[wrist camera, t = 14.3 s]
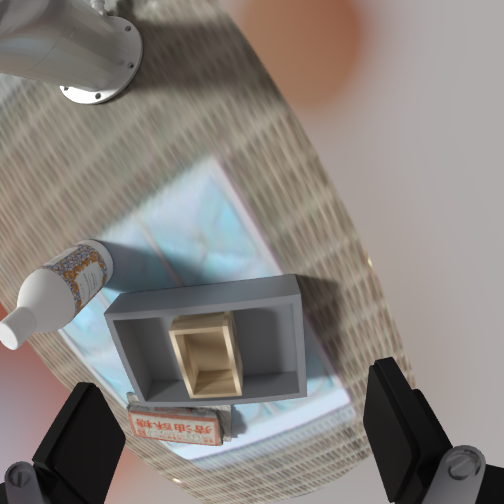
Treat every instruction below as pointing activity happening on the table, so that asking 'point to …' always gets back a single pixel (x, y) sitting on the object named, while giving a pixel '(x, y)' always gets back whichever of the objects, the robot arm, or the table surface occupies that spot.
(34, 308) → the bath foam
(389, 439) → the robot arm
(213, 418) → the packaged product
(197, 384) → the pine crate
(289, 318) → the charcoal crate
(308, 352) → the table surface
